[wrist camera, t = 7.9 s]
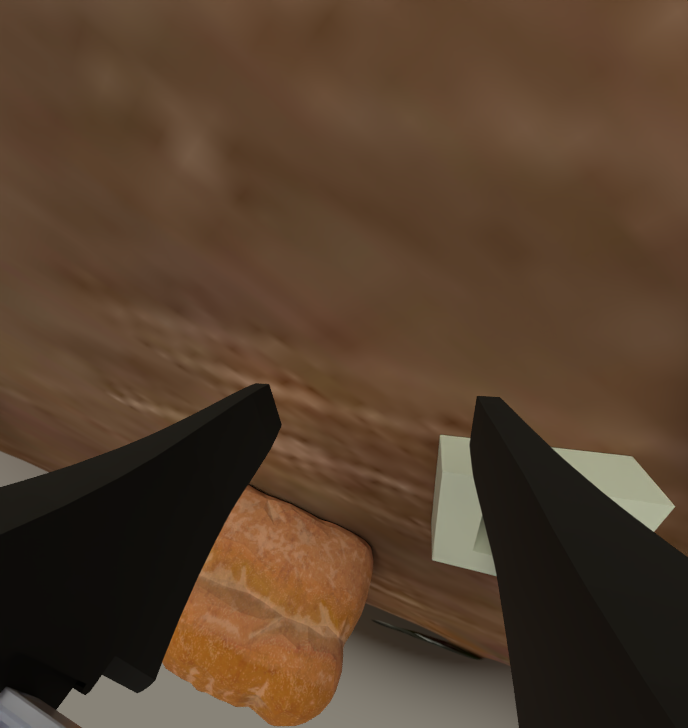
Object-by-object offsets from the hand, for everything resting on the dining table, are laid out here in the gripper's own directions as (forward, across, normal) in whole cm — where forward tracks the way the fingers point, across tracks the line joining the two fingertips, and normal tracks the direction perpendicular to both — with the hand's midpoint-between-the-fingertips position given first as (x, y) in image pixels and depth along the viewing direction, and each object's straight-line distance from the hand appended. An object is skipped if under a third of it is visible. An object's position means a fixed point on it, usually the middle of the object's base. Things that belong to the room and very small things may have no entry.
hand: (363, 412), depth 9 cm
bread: (+10, +16, +28) cm, 34 cm away
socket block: (+9, -9, +16) cm, 21 cm away
